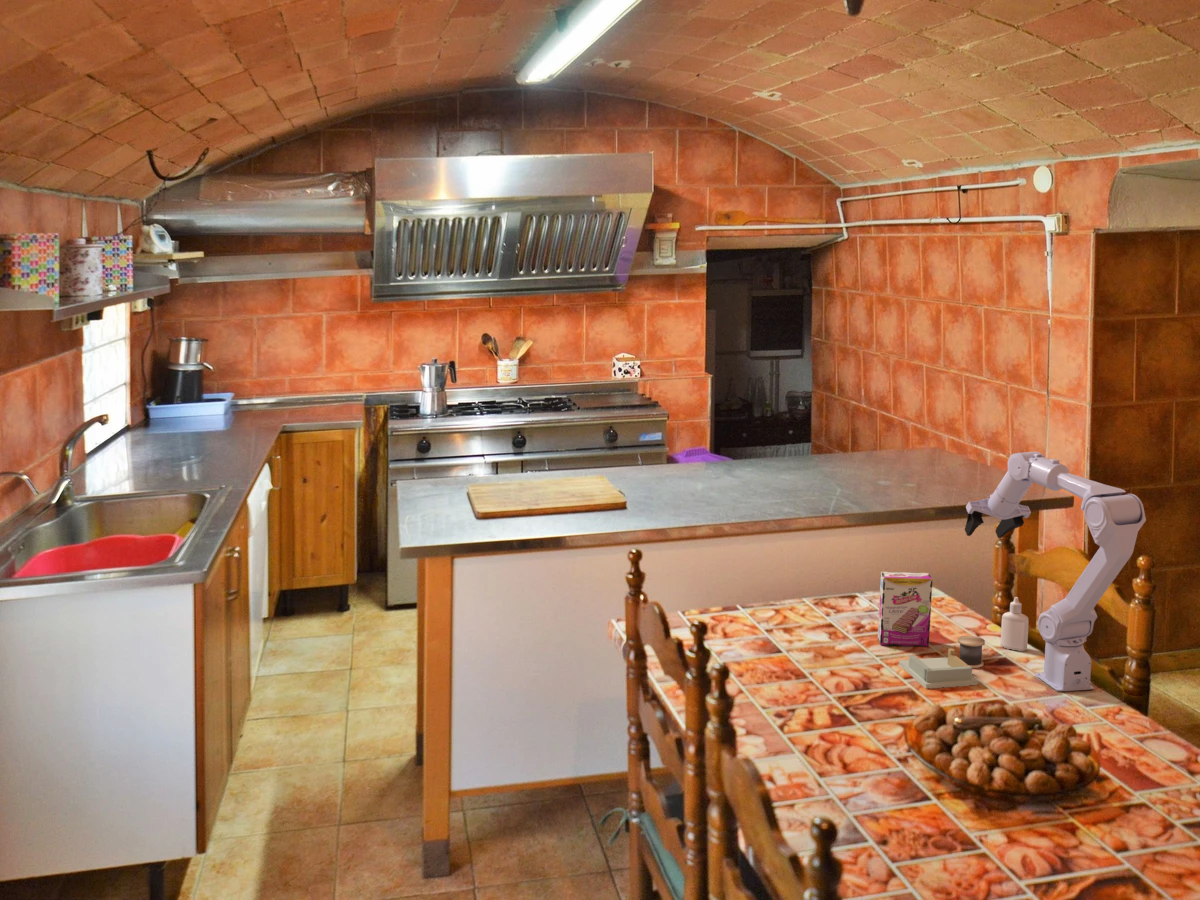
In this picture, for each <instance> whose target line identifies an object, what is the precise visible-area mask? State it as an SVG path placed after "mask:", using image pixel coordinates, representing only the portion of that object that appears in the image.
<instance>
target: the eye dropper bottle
mask: <svg viewBox="0 0 1200 900" xmlns="http://www.w3.org/2000/svg"><path fill="white" fill-rule="evenodd" d="M1000 626H1001V627H1000V629H1001V630H1000V644H999V645H1000V647H1001V648H1003V647H1004V648H1003V649H1005V648H1007V649H1006V650H1009V649H1012V650H1011V651H1013V650H1019V651H1018V652H1025V651H1026V650H1028V641H1029V640H1028V639H1029V617H1028V616H1027V615H1026V614H1024V613H1022V603H1021V602H1020V601H1019V597H1018V596H1015V597H1014V599H1013V601H1011V602H1010V604H1009V611H1007V612H1004V613H1003V614H1002V616H1001V623H1000Z"/></svg>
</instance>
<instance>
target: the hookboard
mask: <svg viewBox="0 0 1200 900" xmlns="http://www.w3.org/2000/svg"><path fill="white" fill-rule="evenodd" d="M898 665H899V666H900V667H901V668H902V669H903V670H904V671H905V672H906V673H907V674H909V675H910V676H911V677H912V678H913V679H914V680H916V681H917V682H918V683H919V684H920V685H921V686H922V687H923V688H925V690H927V689H928V688H929V689H941V688H942V687H944V688H956V686H959V687H970V686H969V685H974V686H978V685H979V682H980V681H979V679H977V678H976V677H975V676H974V675H973V668H971V667H970V666H969V665H967V664H966V663H965V662H963V661H962V660H961V659H960V658H959V657H958V656H957V655H956V650H955V649H954V648H948V649H947V657H946V656H945V657H929V658H918V657H917V656H916V655H909V656H908V659H899V660H898ZM977 684H978V685H977ZM942 689H943V688H942Z"/></svg>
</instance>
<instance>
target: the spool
mask: <svg viewBox="0 0 1200 900" xmlns="http://www.w3.org/2000/svg"><path fill="white" fill-rule="evenodd" d="M985 641H986V640H985V639H984V638H982V637H979V636H976V635H962V636H958V637H957V643H958V644H959V657H958V658H960V659H961V660H962V661H963V662H965V663H966V664H967V665H969V666H970V667H971V668H972V669H980V667H981V668H983V667H984V663H985V662H984V661H983V660H982V657H983V654H982V653H983V646H984V645H985V643H986V642H985Z"/></svg>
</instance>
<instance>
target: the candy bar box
mask: <svg viewBox="0 0 1200 900" xmlns="http://www.w3.org/2000/svg"><path fill="white" fill-rule="evenodd" d="M879 577H880V580H879V581H880V586H879V600H878V601H879V603H878V604H879V606H878V624H877V640H878V642H879V644H880V646H896V647H897V646H901V647H902V646H905V647H906V646H907V647H910V646H911V647H929V645H930V632H931V631H930V628H931V615H932V614H931V613H932V596H933V595H932V594H933V578H932V576H931V575H930V573H929V572H903V571H902V572H900V571H880V576H879Z"/></svg>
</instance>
